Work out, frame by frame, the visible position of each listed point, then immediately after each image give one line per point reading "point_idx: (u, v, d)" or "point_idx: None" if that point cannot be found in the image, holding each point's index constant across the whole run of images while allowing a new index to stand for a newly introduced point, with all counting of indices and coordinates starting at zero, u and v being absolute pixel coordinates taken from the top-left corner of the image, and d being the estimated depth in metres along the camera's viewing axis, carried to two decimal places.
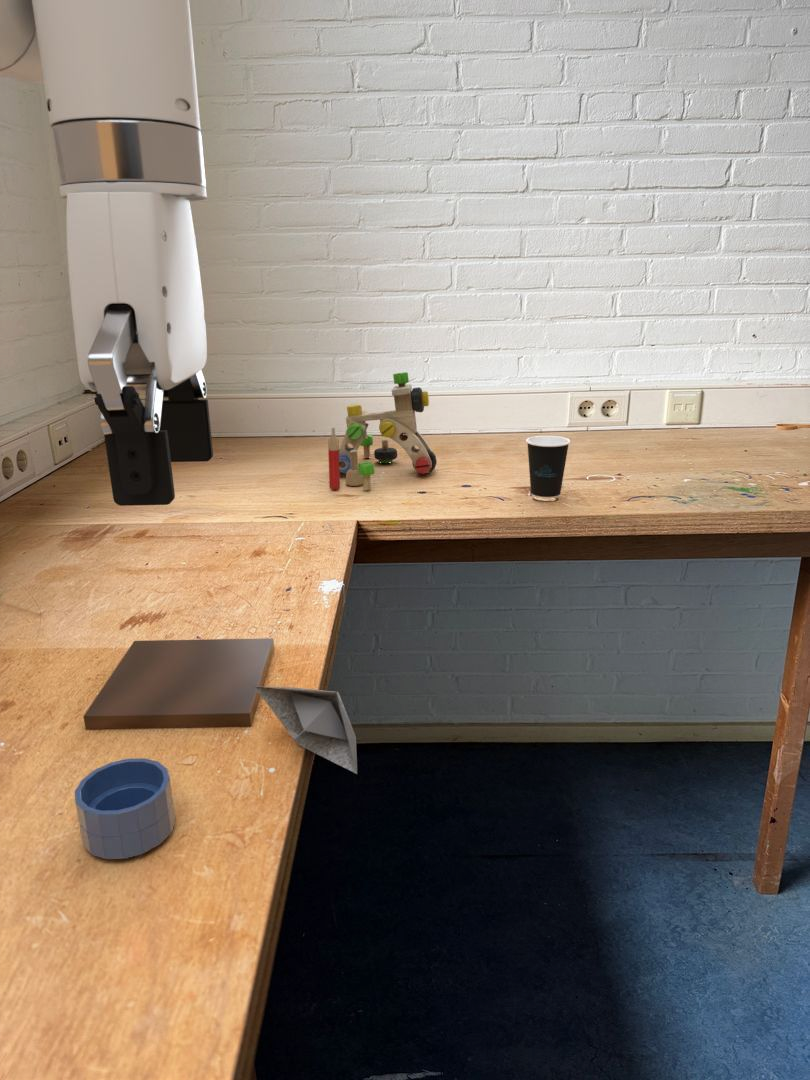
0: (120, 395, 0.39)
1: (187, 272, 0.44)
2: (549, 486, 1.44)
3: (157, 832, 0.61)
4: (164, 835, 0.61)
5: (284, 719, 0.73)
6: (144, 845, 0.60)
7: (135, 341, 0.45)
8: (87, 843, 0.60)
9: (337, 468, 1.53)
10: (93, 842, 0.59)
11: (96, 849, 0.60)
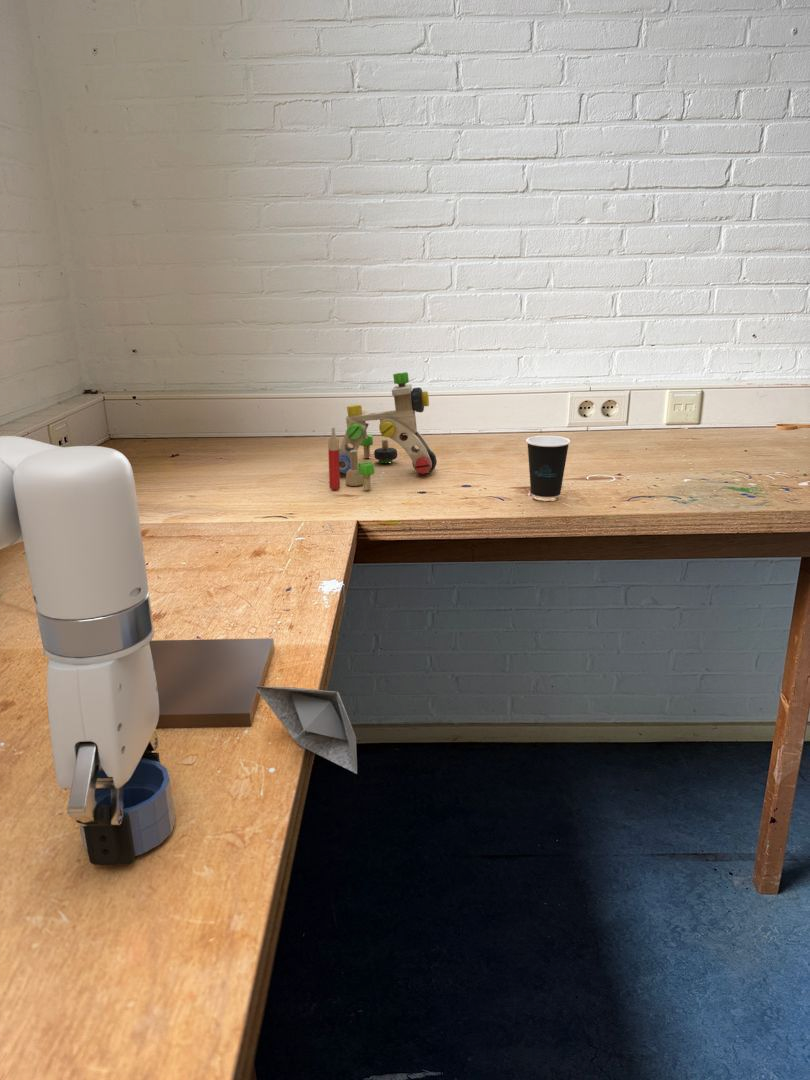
0: None
1: (139, 689, 0.58)
2: (549, 486, 1.44)
3: (157, 832, 0.61)
4: (164, 835, 0.61)
5: (284, 719, 0.73)
6: (144, 845, 0.60)
7: None
8: None
9: (337, 468, 1.53)
10: None
11: None
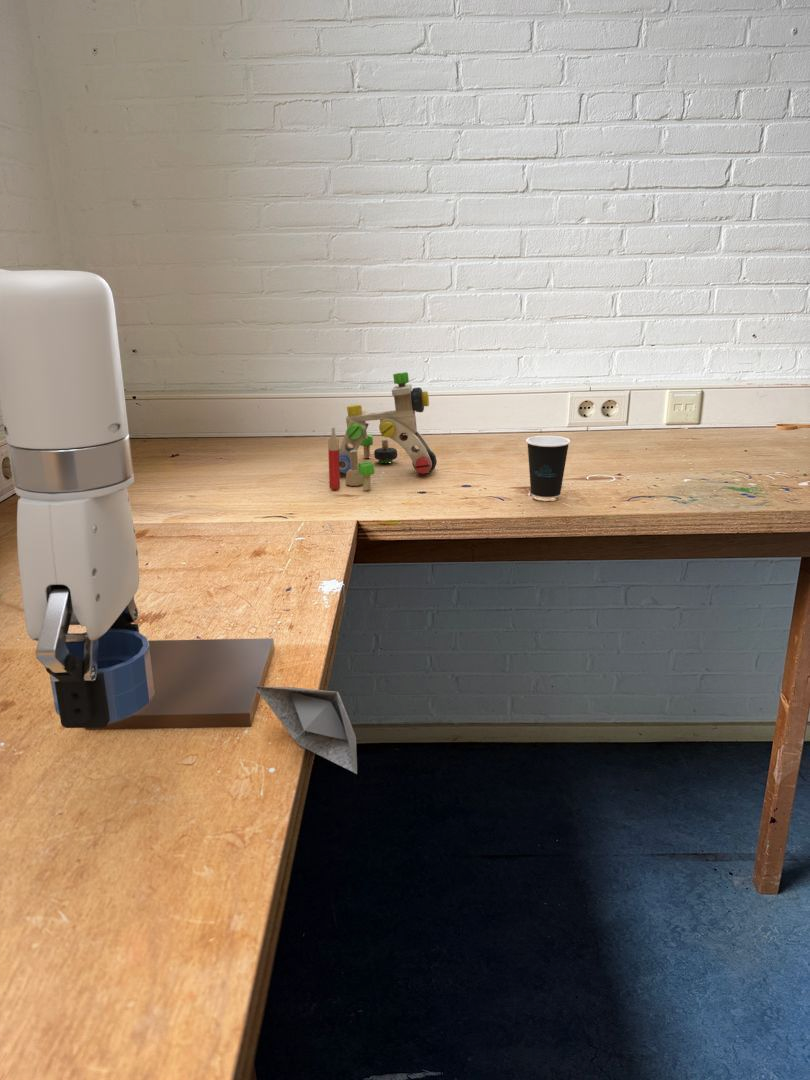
0: None
1: (117, 540, 0.55)
2: (549, 486, 1.44)
3: (134, 699, 0.57)
4: (142, 704, 0.58)
5: (284, 719, 0.73)
6: (120, 711, 0.57)
7: None
8: None
9: (337, 468, 1.53)
10: None
11: None
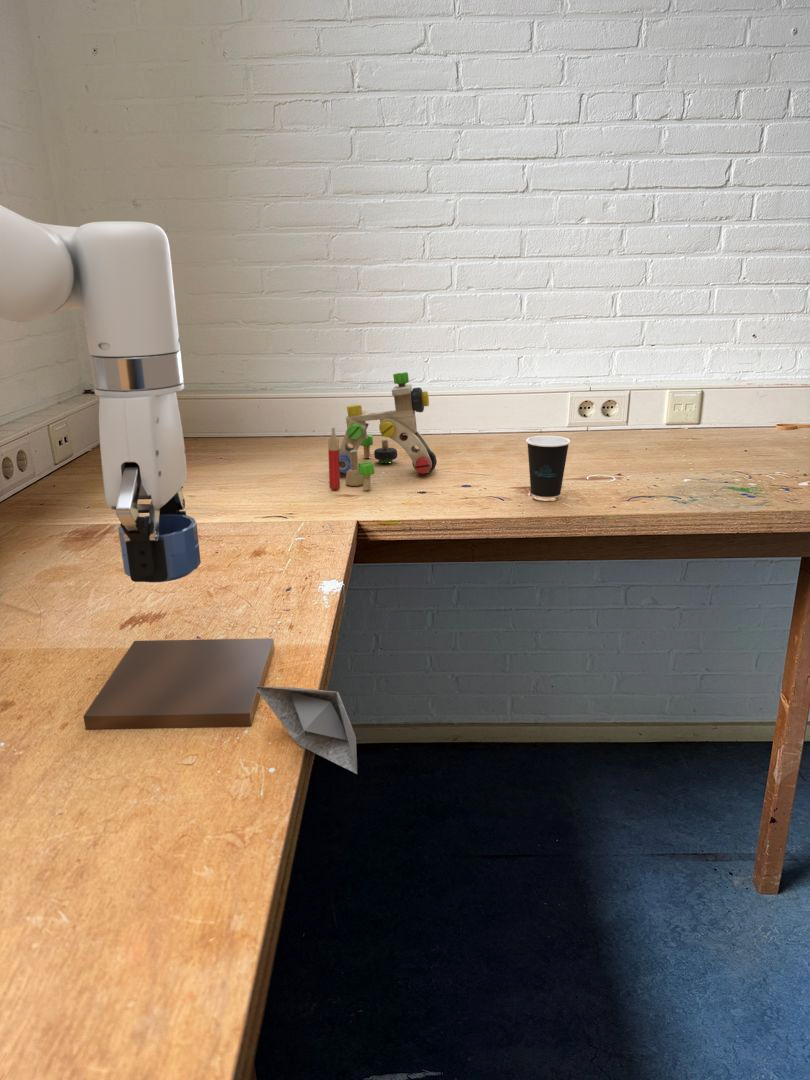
0: None
1: (172, 434, 0.71)
2: (549, 486, 1.44)
3: (186, 561, 0.73)
4: (192, 567, 0.74)
5: (284, 719, 0.73)
6: (175, 570, 0.72)
7: None
8: (128, 569, 0.73)
9: (337, 468, 1.53)
10: None
11: None
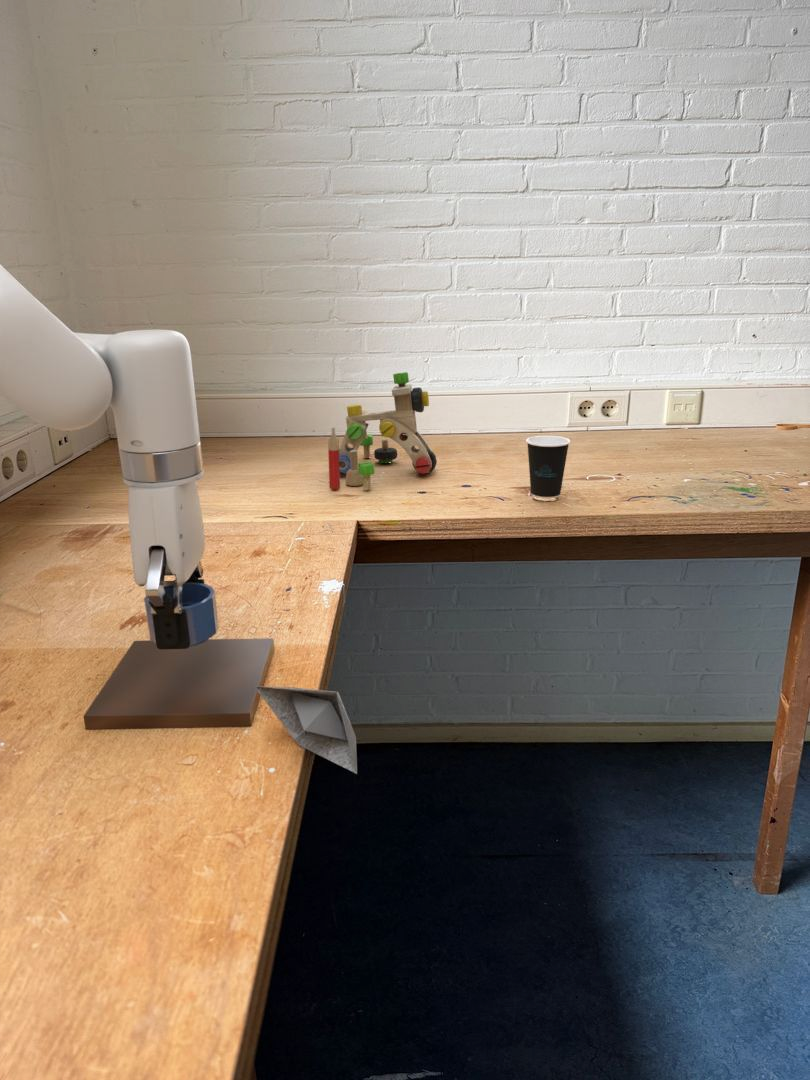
0: None
1: (193, 515, 0.78)
2: (549, 486, 1.44)
3: (206, 629, 0.80)
4: (211, 633, 0.81)
5: (284, 719, 0.73)
6: (197, 637, 0.80)
7: None
8: (154, 636, 0.80)
9: (337, 468, 1.53)
10: None
11: None
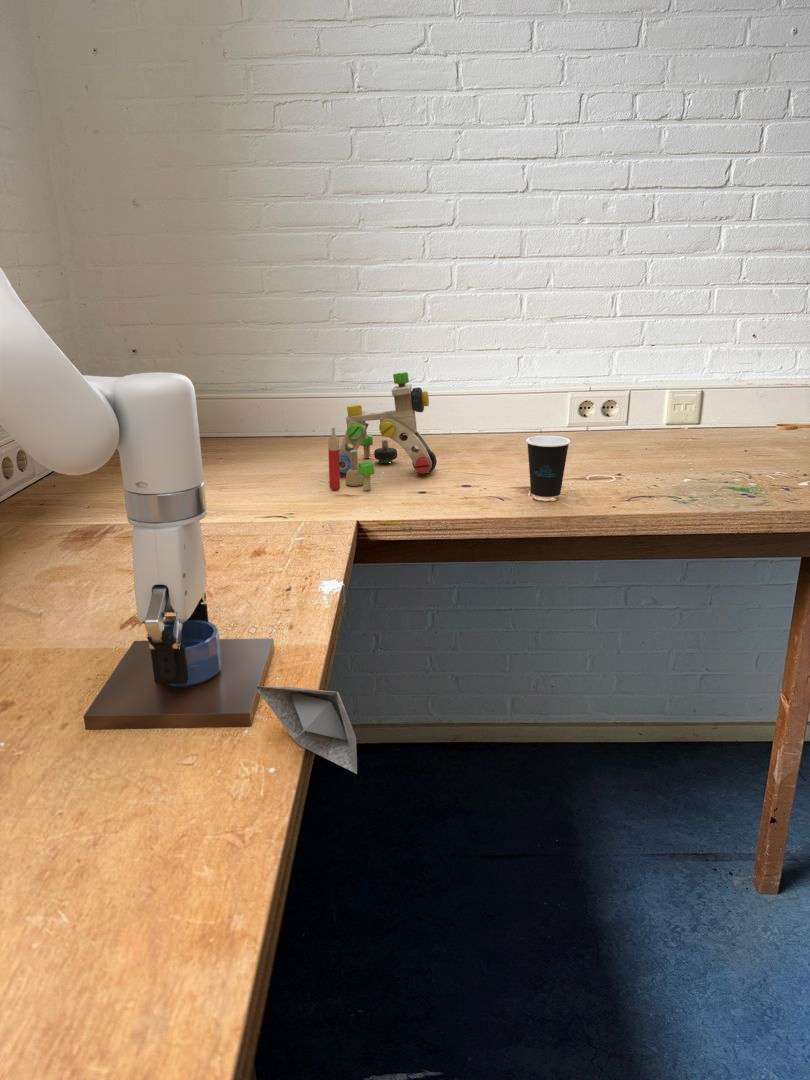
0: (161, 637, 0.74)
1: (195, 553, 0.79)
2: (549, 486, 1.44)
3: (210, 667, 0.82)
4: (214, 671, 0.83)
5: (284, 719, 0.73)
6: (200, 676, 0.81)
7: None
8: None
9: (337, 468, 1.53)
10: None
11: None
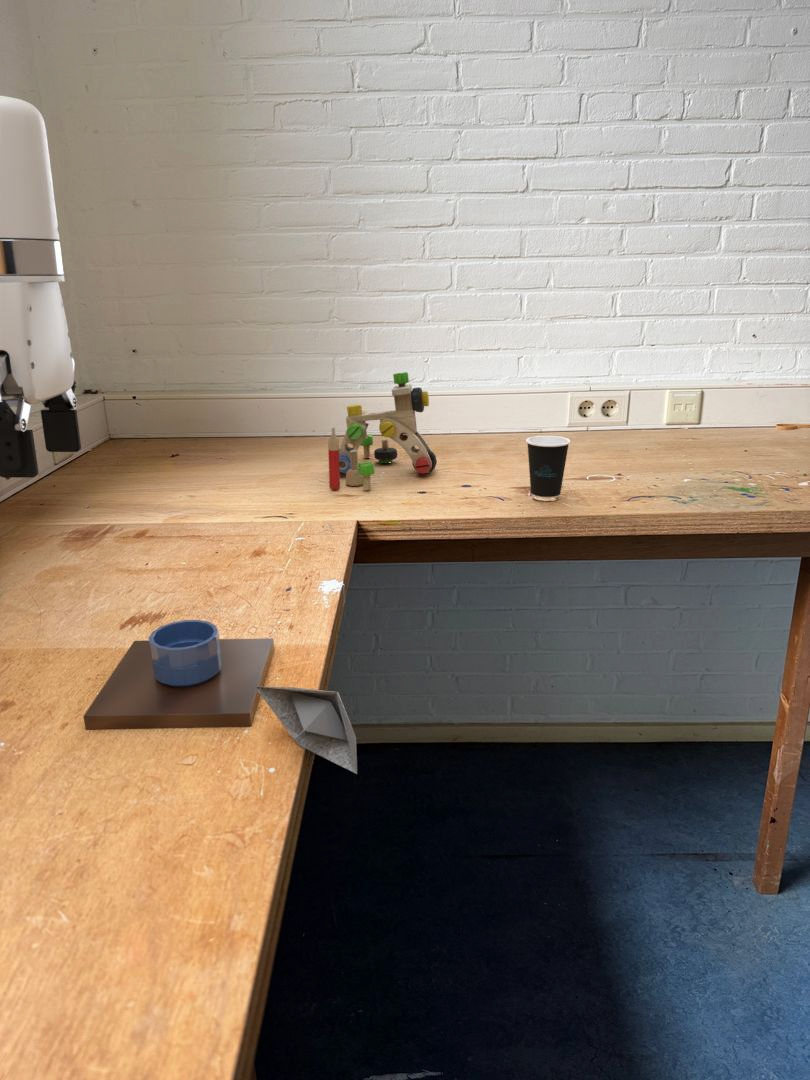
0: None
1: (50, 328, 0.68)
2: (549, 486, 1.44)
3: (210, 667, 0.82)
4: (214, 671, 0.83)
5: (284, 719, 0.73)
6: (200, 676, 0.81)
7: None
8: (158, 675, 0.81)
9: (337, 468, 1.53)
10: (163, 673, 0.81)
11: (165, 678, 0.81)
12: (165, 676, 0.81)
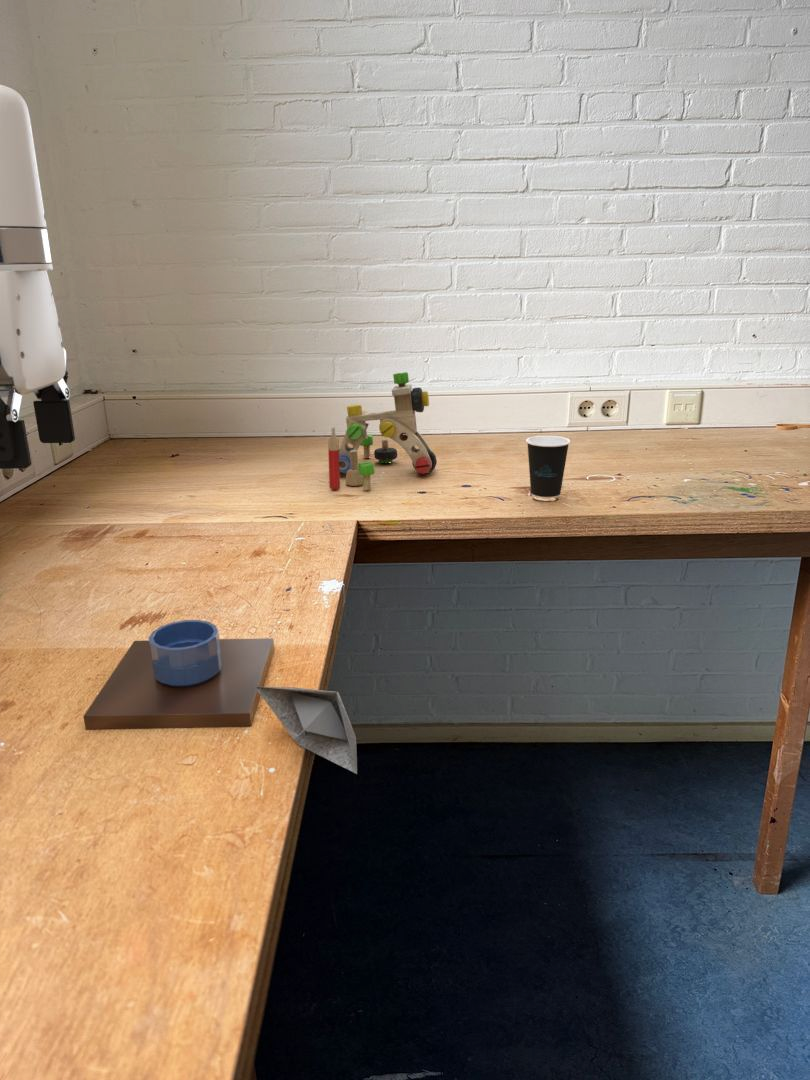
0: None
1: (40, 318, 0.68)
2: (549, 486, 1.44)
3: (210, 667, 0.82)
4: (214, 671, 0.83)
5: (284, 719, 0.73)
6: (200, 676, 0.81)
7: None
8: (158, 675, 0.81)
9: (337, 468, 1.53)
10: (163, 673, 0.81)
11: (165, 678, 0.81)
12: (165, 676, 0.81)
